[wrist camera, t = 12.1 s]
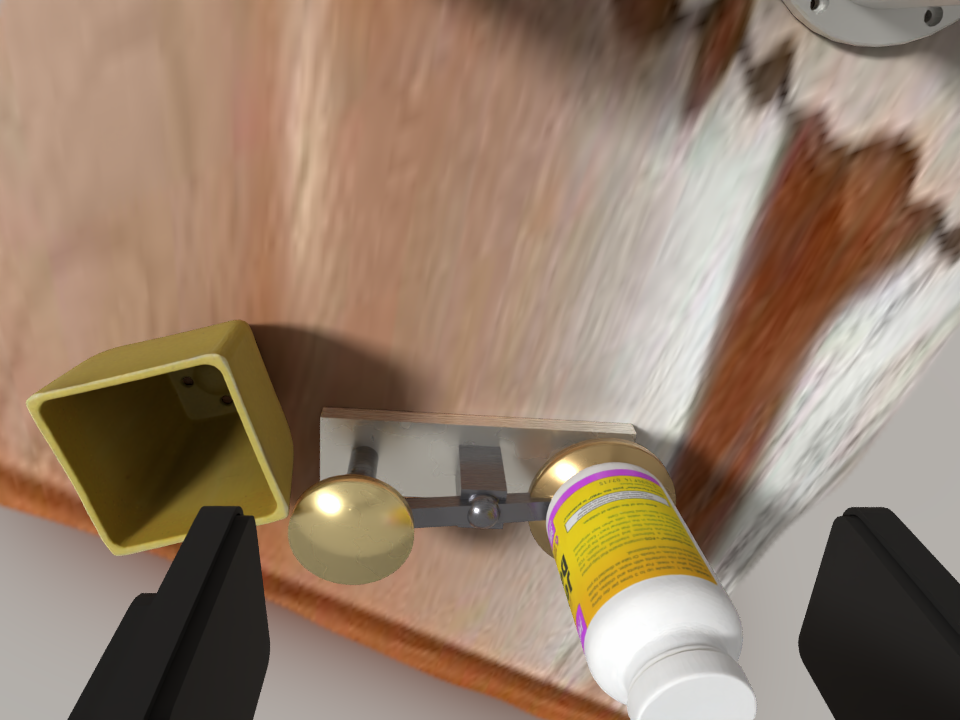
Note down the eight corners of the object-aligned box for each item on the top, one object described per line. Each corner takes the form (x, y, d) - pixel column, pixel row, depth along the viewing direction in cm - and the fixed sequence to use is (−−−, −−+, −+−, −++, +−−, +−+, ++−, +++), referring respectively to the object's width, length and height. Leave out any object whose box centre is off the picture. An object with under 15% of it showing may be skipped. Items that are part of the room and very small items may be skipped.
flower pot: (320, 424, 41) (291, 521, 33) (174, 457, 41) (110, 561, 33) (268, 283, 37) (221, 351, 29) (109, 319, 38) (19, 398, 30)
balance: (661, 402, 42) (710, 482, 34) (636, 515, 45) (676, 610, 37) (314, 383, 40) (286, 462, 32) (314, 501, 43) (289, 598, 36)
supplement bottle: (521, 494, 37) (579, 705, 25) (635, 435, 36) (749, 623, 25) (576, 578, 40) (651, 802, 28) (683, 524, 39) (806, 732, 27)
